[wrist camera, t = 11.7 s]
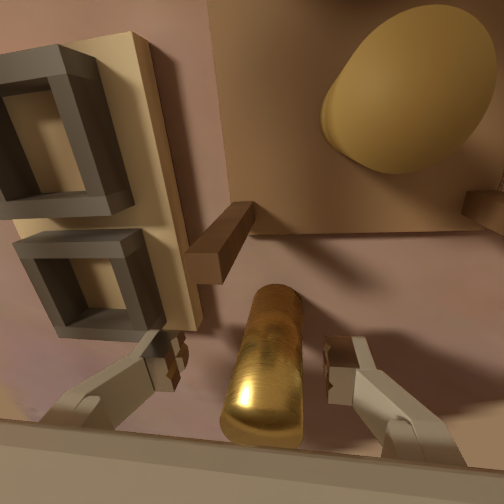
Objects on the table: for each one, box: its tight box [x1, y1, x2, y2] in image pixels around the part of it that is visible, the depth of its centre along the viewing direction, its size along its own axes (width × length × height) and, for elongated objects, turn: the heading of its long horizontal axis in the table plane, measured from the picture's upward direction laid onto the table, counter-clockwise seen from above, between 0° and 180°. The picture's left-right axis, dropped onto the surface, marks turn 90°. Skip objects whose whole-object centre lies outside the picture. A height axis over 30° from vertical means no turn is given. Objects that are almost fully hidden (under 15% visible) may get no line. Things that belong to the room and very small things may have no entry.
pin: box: [220, 284, 303, 449], centre depth 10 cm, size 2×2×6 cm
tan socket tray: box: [0, 31, 203, 343], centre depth 11 cm, size 8×12×2 cm, turn 5°
